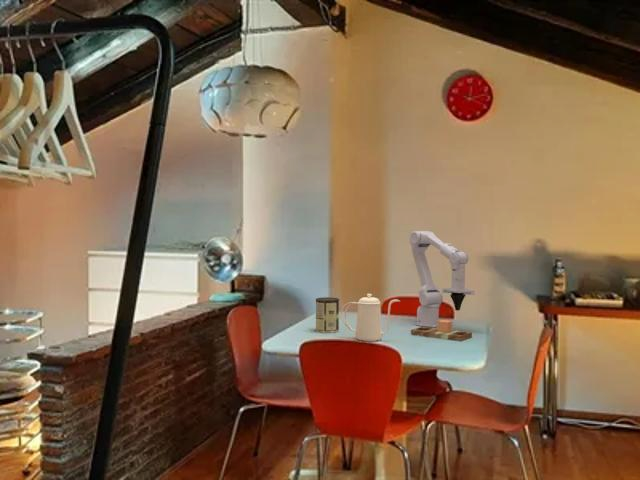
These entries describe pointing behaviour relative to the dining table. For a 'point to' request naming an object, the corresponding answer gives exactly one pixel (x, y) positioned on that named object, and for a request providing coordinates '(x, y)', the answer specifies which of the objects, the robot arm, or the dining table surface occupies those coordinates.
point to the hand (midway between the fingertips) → (457, 310)
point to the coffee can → (327, 315)
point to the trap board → (441, 334)
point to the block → (444, 326)
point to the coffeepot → (369, 319)
